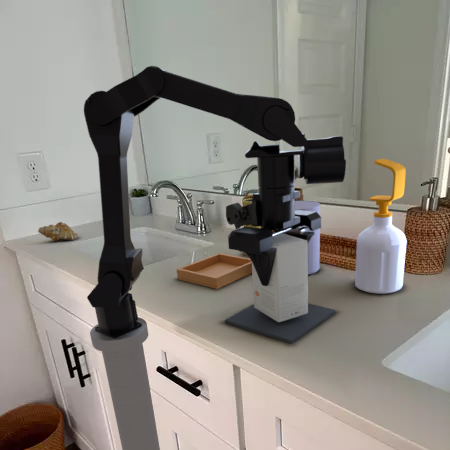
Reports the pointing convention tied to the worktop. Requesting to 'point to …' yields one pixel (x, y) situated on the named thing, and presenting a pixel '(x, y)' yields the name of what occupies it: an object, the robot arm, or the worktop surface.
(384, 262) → the soap bottle
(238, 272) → the tray
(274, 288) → the small box
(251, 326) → the mat
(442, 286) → the worktop surface
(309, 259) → the container
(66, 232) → the seashell
